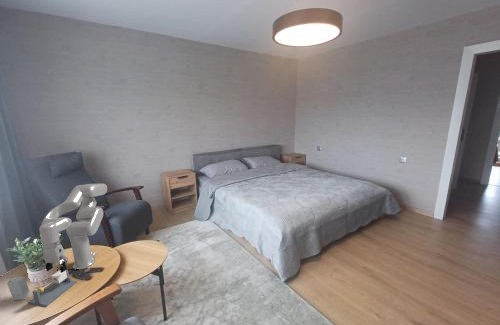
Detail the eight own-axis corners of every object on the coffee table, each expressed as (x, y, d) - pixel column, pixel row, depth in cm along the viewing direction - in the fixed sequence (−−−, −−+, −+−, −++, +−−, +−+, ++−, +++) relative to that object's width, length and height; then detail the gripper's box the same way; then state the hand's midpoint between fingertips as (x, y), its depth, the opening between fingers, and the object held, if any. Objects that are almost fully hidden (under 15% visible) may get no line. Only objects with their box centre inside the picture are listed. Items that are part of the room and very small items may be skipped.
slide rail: (60, 280, 140) (57, 268, 138) (76, 282, 138) (74, 270, 136) (28, 303, 123) (25, 290, 121) (46, 306, 121) (43, 293, 119)
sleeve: (61, 276, 137) (59, 270, 136) (67, 277, 136) (65, 270, 135) (52, 282, 132) (51, 275, 131) (59, 283, 131) (57, 276, 130)
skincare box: (30, 293, 130) (26, 275, 127) (23, 300, 125) (18, 281, 123) (19, 294, 129) (14, 276, 126) (12, 301, 125) (6, 282, 122)
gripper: (70, 241, 131) (75, 267, 134) (45, 239, 133) (51, 265, 137) (57, 248, 123) (63, 276, 127) (32, 246, 126) (37, 273, 129)
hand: (56, 270), depth 132 cm, fingers open, 9 cm apart
